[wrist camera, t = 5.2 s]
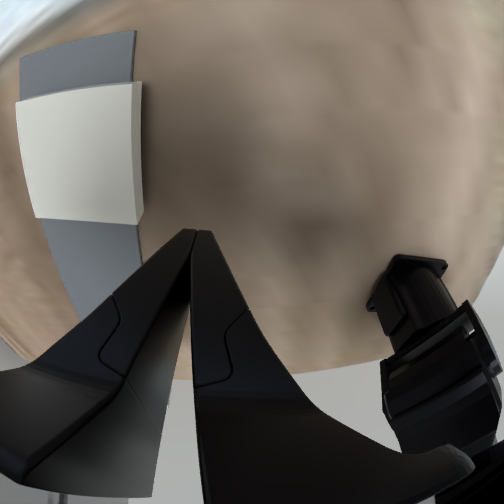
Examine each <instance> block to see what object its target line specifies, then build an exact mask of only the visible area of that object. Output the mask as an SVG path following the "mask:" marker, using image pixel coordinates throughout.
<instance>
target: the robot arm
mask: <svg viewBox="0 0 504 504" xmlns="http://www.w3.org/2000/svg"><path fill="white" fill-rule="evenodd" d="M447 267H448V264H447V262H446V261H444V260H436V259H428V258H420V257H412V256H404V255H398V256H396V257H394V259H393V260H392V262H391V264H390V266H389V268H388V269H387V271H386V273H385V275H384V277H383V278H382V280H381V282H380V283H379V285H378V287H377V289H376V290H375V292H374V294H373V295H372V297H371V299H370V300H369V302H368V303H367V305H366V308H367V311H368V312H377V315H378V317H379V320H380V323H381V326H382V328H383V331H384V334H385V335H386V336H389V338H390V341H391V344H392V347H393V350H394V353H395V354H394V355H392V356H390V357H389V358H387V359H384V360H382V361H381V362H380V374H381V389H382V410H383V413H384V414H385V416H386V419H387V421H388V423H389V425H390V426H391V428H392V429H393V431H394V432H395V435H396V437H397V439H398V441H399V444H400V448H401V451H402V453H400V452H397V451H394V450H392V449H389V448H387V447H385V446H383V445H381V444H379V443H377V442H375V441H374V440H371V439H369V438H368V437H366V436H364V435H362V434H360V433H358V432H357V431H355V430H353V429H351V428H349V427H348V426H346V425H344V424H342V423H341V422H339V421H337V420H335V419H334V418H332V417H330V416H329V415H327V414H325V413H324V412H323V411H321V410H320V409H319V408H318V407H316V406H315V405H314V404H313V403H312V402H311V401H310V400H309V398H308V397H307V396H306V395H305V393H304V392H303V391H302V390H301V388H300V387H299V386H298V384H297V383H296V381H295V380H294V379H293V377H292V376H291V375H290V373H289V372H288V370H287V369H286V368H285V366H284V365H283V364H282V362H281V361H280V359H279V358H278V357H277V355H276V354H275V352H274V351H273V349H272V348H271V346H270V345H269V343H268V342H267V340H266V339H265V337H264V335H263V334H262V332H261V330H260V328H259V326H258V325H257V323H256V321H255V319H254V317H253V315H252V313H251V311H250V310H249V307H248V305H247V303H246V301H245V299H244V297H243V295H242V293H241V291H240V289H239V287H238V285H237V283H236V281H235V279H234V277H233V275H232V273H231V270H230V268H229V266H228V264H227V262H226V260H225V258H224V256H223V254H222V252H221V250H220V248H219V245H218V243H217V241H216V239H215V237H214V235H213V233H212V231H207V230H198V231H197V230H195V229H186V228H184V229H182V230H181V231H180V232H179V233H177V234H176V235H175V236H174V237H173V238H172V239H170V240H169V241H168V242H167V243H166V244H165V245H164V246H162V247H161V248H160V249H159V250H158V251H157V252H156V253H155V254H153V255H152V256H151V257H150V258H149V259H148V260H147V261H146V262H145V263H143V264H142V265H141V266H140V267H139V268H138V269H137V270H136V271H135V272H134V273H133V274H131V275H130V276H129V277H128V278H127V279H126V280H125V281H124V282H123V283H122V284H121V285H120V286H119V287H118V288H117V289H116V290H115V291H113V292H112V295H109V296H108V297H107V298H106V299H105V300H104V301H103V302H102V303H101V304H100V305H99V306H98V307H97V308H96V309H94V310H93V311H92V312H91V313H90V314H89V315H88V316H87V317H86V318H85V319H83V320H82V321H81V322H80V323H79V324H78V325H76V326H75V327H74V328H73V329H72V330H70V331H69V332H68V333H67V334H66V335H64V336H63V337H62V338H61V339H60V340H58V341H57V342H56V343H55V344H54V345H53V346H51V347H50V348H49V349H48V350H47V351H46V352H44V353H43V354H42V355H41V356H40V357H38V358H37V359H36V360H34V361H33V362H31V363H29V364H27V365H25V366H22V367H20V368H16V369H11V370H5V371H0V504H128V498H145V497H152V490H153V483H154V477H155V470H156V464H157V458H158V452H159V447H160V441H161V436H162V435H161V433H162V430H163V424H164V419H165V414H166V408H167V404H168V399H169V394H170V390H171V385H172V380H173V376H174V371H175V366H176V362H177V358H178V353H179V349H180V345H181V340H182V336H183V332H184V328H185V324H186V320H187V316H188V312H189V307H190V322H191V353H192V374H193V389H194V405H195V419H196V433H197V444H198V457H199V467H200V476H201V485H202V493H203V501H204V504H504V440H502V441H500V442H499V443H497V439H496V436H495V434H496V430H497V426H498V422H499V418H500V413H501V408H502V397H501V387H500V384H499V382H498V379H497V377H496V376H497V375H498V374H500V373H501V372H502V371H503V370H502V367H501V364H500V361H499V359H498V356H497V354H496V351H495V349H494V347H493V344H492V341H491V339H490V337H489V335H488V333H487V331H486V329H485V327H484V325H483V323H482V321H481V320H480V318H479V316H478V315H477V313H476V311H475V310H474V308H473V307H472V306H471V304H470V303H469V301H468V300H466V301H464V302H463V303H462V305H461V306H460V307H459V308H457V306H456V304H455V302H454V300H453V299H452V297H451V295H450V293H449V292H448V290H447V288H446V286H445V285H444V283H443V281H442V280H441V277H442V275H443V274H444V272H445V271H446V269H447ZM473 329H474V330H475V331H474V332H473V333H471V334H470V335H469V332H470V331H472V330H473Z"/></svg>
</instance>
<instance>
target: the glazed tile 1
mask: <svg viewBox="0 0 504 504" xmlns="http://www.w3.org/2000/svg"><path fill="white" fill-rule="evenodd" d="M141 92H142V81H136V82H121V83H110V84H100V85H92V86H85V87H78V88H72V89H66V90H60V91H55V92H50V93H46V94H41V95H37V96H33V97H29V98H26V99H24V100H21V101H19V102H16V103H15V104H16V118H17V128H18V136H19V144H20V150H21V156H22V162H23V167H24V173H25V177H26V182H27V186H28V191H29V195H30V199H31V203H32V206H33V210H34V214H35V217H36V218H49V219H64V220H78V221H92V222H105V223H118V224H130V225H138V223H139V221H140V219H141V217H142V215H143V213H144V206H143V191H142V172H141Z"/></svg>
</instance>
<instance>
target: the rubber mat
mask: <svg viewBox="0 0 504 504" xmlns="http://www.w3.org/2000/svg"><path fill="white" fill-rule="evenodd" d="M135 38H136V31H126V32H118V33H112V34H106V35H100V36H95V37H90V38H85V39H81V40H76V41H72V42H68V43H64V44H61V45H57V46H54V47H50V48H47V49H44V50H41V51H38V52H35V53H32V54H29V55H26V56H24V57H21V58H20V101H21V100H24V99H26V98H29V97H33V96H37V95H41V94H46V93H50V92H55V91H60V90H66V89H72V88H78V87H85V86H92V85H100V84H110V83H121V82H132V74H133V60H134V48H135ZM40 219H41V222H42V226H43V229H44V232H45V235H46V238H47V241H48V244H49V247H50V250H51V253H52V256H53V258H54V261H55V264H56V266H57V269H58V271H59V274H60V276H61V279H62V281H63V284H64V286H65V288H66V291H67V293H68V295H69V297H70V300H71V302H72V304H73V306H74V308H75V310H76V312H77V314H78V316H79V318H80V320H81V321H82V320H83V319H85V318H86V317H87V316H88V315H89V314H90V313H91V312H92V311H93V310H94V309H96V308H97V307H98V306H99V305H100V304H101V303H102V302H103V301H104V300H105V299H106V298H107V297H108V296H109V295H112V292H113V291H115V290H116V289H117V288H118V287H119V286H120V285H121V284H122V283H123V282H124V281H125V280H126V279H127V278H128V277H129V276H130V275H131V274H133V273H134V272H135V271H136V270H137V269H138V268H139V267H140V266H141V265H142V258H141V251H140V244H139V236H138V228H137V225H130V224H118V223H105V222H92V221H78V220H64V219H49V218H40Z"/></svg>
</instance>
